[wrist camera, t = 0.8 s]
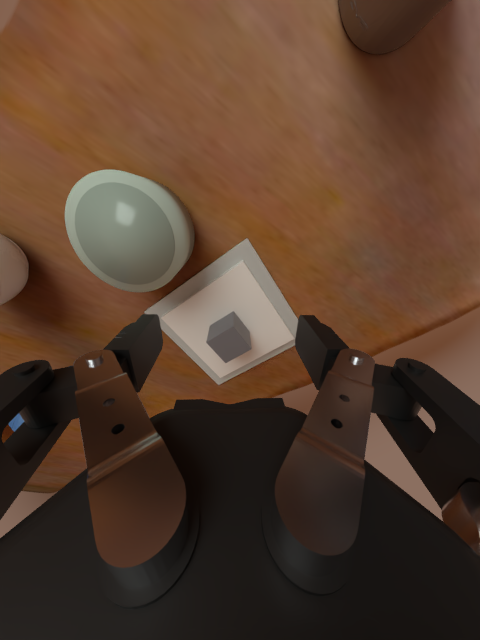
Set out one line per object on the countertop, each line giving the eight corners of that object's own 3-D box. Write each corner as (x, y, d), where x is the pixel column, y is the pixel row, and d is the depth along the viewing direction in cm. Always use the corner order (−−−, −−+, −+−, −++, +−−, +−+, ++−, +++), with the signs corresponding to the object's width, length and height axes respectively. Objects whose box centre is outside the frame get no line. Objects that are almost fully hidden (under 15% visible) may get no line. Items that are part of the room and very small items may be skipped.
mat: (247, 237, 27) (247, 238, 27) (308, 336, 35) (309, 337, 35) (144, 311, 32) (144, 312, 32) (218, 383, 40) (218, 385, 40)
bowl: (152, 156, 23) (119, 136, 16) (213, 242, 28) (206, 254, 21) (89, 218, 26) (38, 222, 19) (154, 287, 30) (131, 310, 24)
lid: (243, 259, 28) (244, 270, 24) (293, 335, 34) (302, 356, 30) (162, 315, 32) (150, 334, 27) (220, 374, 38) (218, 398, 34)
